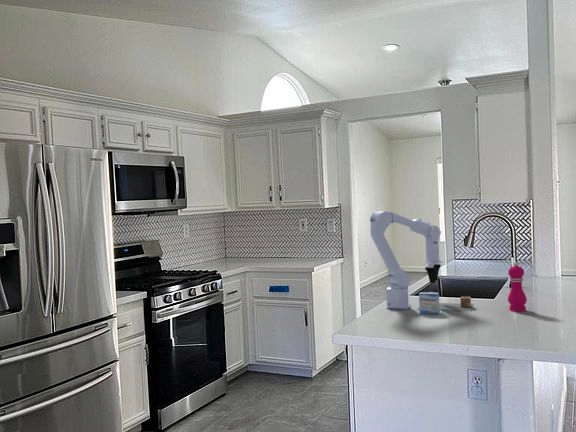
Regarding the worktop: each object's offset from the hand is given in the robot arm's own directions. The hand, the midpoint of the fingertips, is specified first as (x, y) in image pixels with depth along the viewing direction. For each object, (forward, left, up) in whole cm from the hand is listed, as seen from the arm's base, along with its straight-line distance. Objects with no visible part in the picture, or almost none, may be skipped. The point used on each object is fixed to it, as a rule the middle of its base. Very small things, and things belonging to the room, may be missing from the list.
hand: (433, 281), depth 240 cm
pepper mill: (+34, -9, -10) cm, 37 cm away
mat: (+5, -7, -10) cm, 13 cm away
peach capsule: (-2, -2, -10) cm, 10 cm away
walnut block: (+14, -6, -10) cm, 18 cm away
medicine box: (0, -20, -11) cm, 22 cm away
